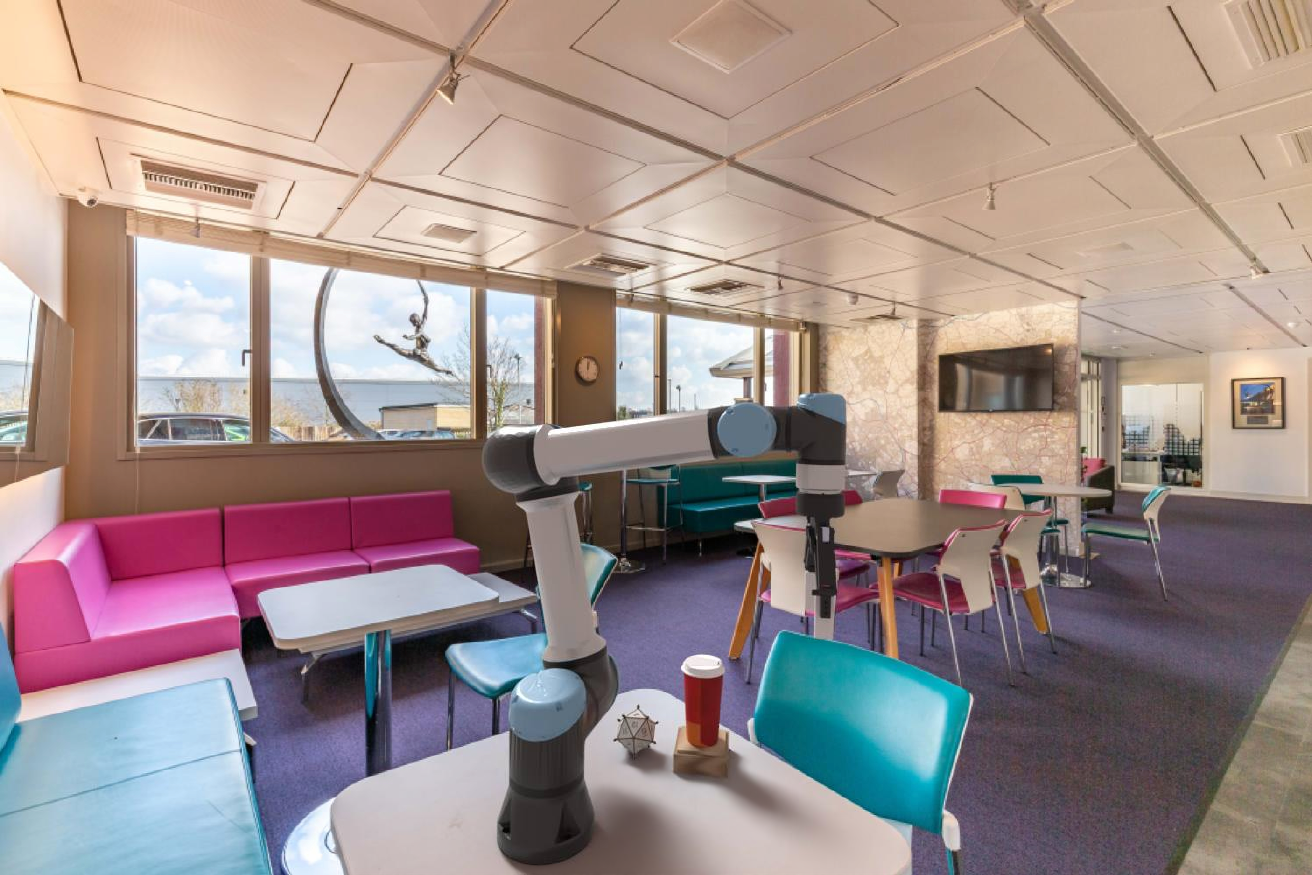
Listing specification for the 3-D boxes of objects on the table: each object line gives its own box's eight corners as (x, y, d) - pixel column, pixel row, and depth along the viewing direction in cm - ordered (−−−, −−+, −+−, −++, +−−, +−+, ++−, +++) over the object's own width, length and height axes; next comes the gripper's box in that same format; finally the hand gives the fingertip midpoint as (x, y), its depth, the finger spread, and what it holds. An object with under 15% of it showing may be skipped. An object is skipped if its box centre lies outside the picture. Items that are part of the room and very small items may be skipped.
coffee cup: (725, 730, 119) (727, 655, 118) (721, 753, 111) (723, 672, 110) (683, 726, 121) (684, 651, 120) (676, 747, 112) (677, 668, 112)
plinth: (673, 772, 112) (673, 750, 111) (678, 743, 121) (678, 724, 121) (727, 777, 110) (728, 755, 110) (728, 748, 120) (729, 728, 120)
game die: (633, 764, 121) (637, 710, 126) (665, 762, 116) (669, 707, 122) (601, 756, 115) (607, 700, 121) (634, 754, 111) (639, 696, 116)
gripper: (860, 501, 83) (857, 654, 84) (832, 483, 108) (830, 601, 108) (804, 499, 84) (801, 650, 85) (789, 482, 109) (787, 599, 109)
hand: (817, 623), depth 97 cm, fingers open, 13 cm apart
